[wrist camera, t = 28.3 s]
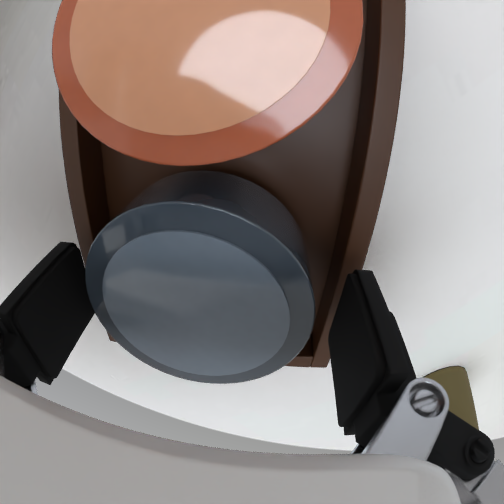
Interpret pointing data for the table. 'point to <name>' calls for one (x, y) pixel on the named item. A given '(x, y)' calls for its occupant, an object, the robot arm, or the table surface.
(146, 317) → the slate dish
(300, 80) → the terracotta dish
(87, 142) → the tray
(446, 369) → the pepper shaker
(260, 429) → the table surface
